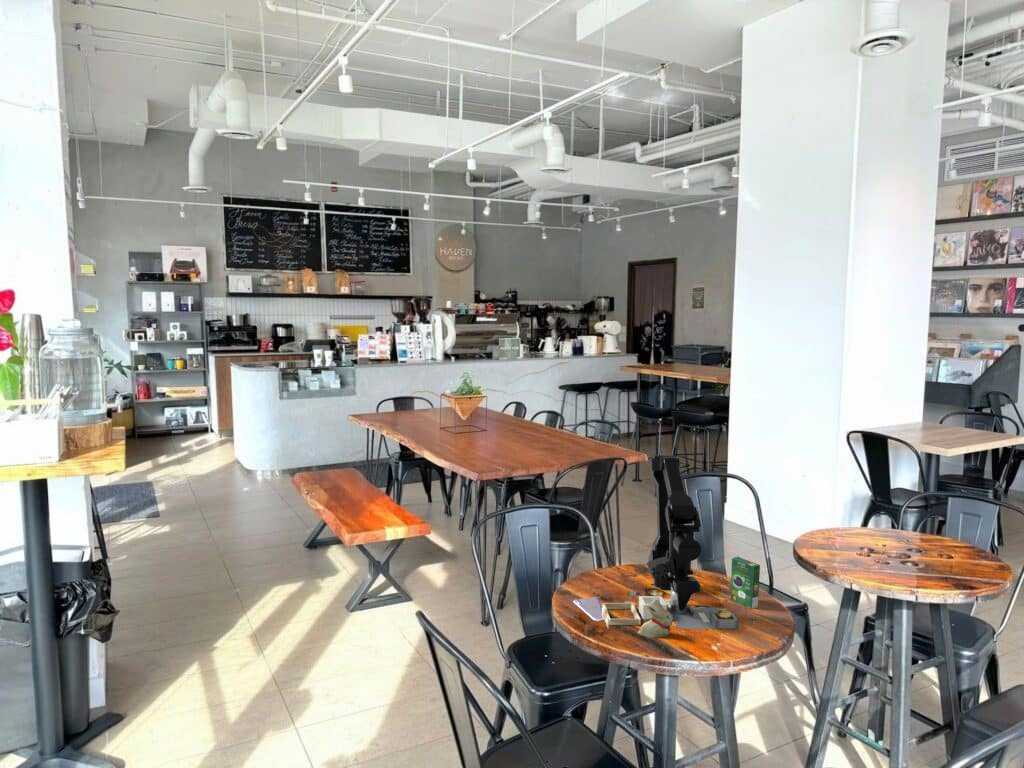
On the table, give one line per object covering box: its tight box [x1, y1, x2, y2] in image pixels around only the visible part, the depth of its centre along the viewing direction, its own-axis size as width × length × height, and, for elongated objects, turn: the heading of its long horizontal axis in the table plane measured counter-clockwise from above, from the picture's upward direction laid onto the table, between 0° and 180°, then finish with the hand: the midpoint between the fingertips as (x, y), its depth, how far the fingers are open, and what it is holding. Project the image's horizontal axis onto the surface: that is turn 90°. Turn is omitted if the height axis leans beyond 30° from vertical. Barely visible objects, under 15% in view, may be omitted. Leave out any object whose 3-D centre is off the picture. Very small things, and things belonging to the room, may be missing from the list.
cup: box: [638, 595, 668, 620], centre depth 188 cm, size 6×6×5 cm
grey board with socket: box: [666, 603, 740, 630], centre depth 187 cm, size 14×16×3 cm
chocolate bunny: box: [637, 599, 674, 639], centre depth 176 cm, size 6×8×10 cm
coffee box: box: [729, 556, 761, 610], centre depth 196 cm, size 8×3×13 cm, turn 29°
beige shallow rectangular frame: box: [601, 602, 642, 631], centre depth 187 cm, size 11×8×3 cm
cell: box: [670, 584, 688, 615], centre depth 190 cm, size 4×4×7 cm
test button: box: [718, 608, 732, 619], centre depth 183 cm, size 3×3×2 cm
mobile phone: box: [572, 596, 605, 622], centre depth 195 cm, size 8×1×15 cm
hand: (679, 606), depth 190 cm, fingers closed on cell, 4 cm apart
